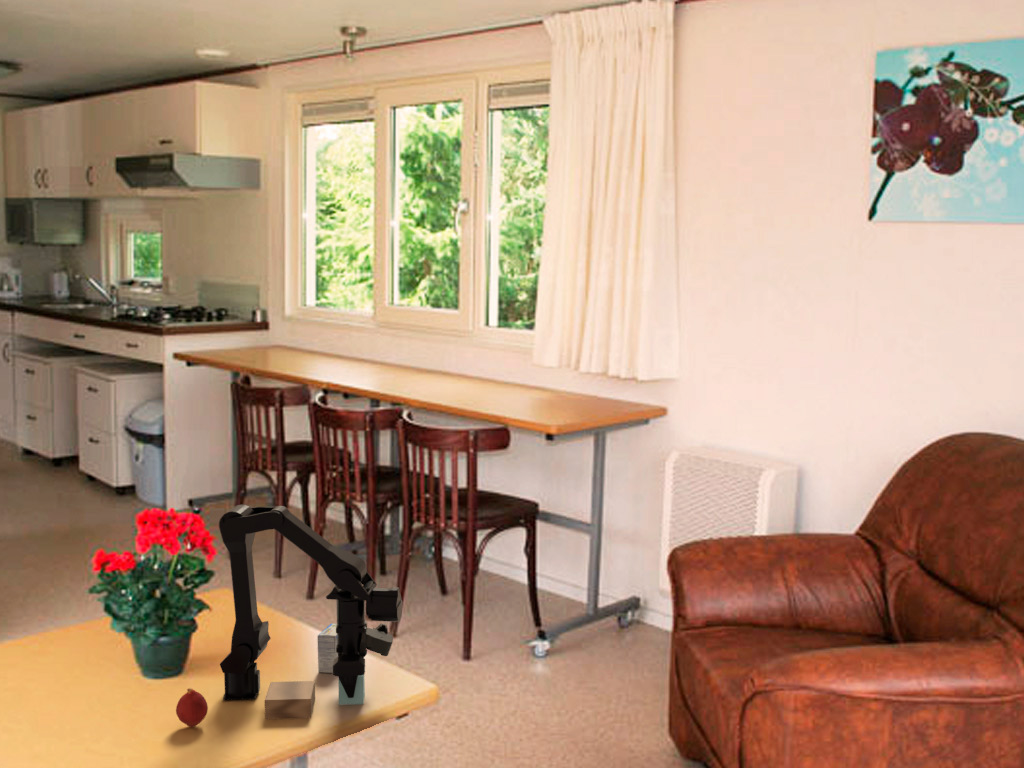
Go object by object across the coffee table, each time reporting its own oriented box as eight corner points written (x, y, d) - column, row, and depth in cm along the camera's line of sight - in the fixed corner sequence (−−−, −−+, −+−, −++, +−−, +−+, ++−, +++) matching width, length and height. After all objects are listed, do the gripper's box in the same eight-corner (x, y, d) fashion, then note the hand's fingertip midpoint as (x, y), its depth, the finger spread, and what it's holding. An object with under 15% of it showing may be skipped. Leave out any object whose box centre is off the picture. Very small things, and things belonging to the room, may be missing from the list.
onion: (196, 718, 221) (195, 679, 220) (214, 726, 218) (213, 686, 216) (171, 727, 217) (169, 688, 216) (188, 736, 213) (187, 696, 212)
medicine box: (337, 674, 244) (336, 636, 242) (317, 672, 244) (317, 634, 243) (349, 661, 251) (348, 623, 250) (330, 659, 252) (330, 622, 251)
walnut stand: (264, 719, 221) (264, 700, 220) (270, 700, 230) (270, 681, 229) (311, 718, 221) (310, 698, 221) (315, 699, 230) (314, 680, 230)
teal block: (338, 704, 228) (338, 676, 227) (340, 694, 233) (340, 667, 232) (363, 704, 228) (363, 676, 227) (364, 694, 233) (364, 666, 232)
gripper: (389, 634, 220) (389, 710, 222) (391, 603, 238) (392, 673, 240) (332, 635, 219) (333, 711, 221) (338, 604, 237) (339, 675, 239)
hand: (351, 692), depth 230 cm, fingers closed on teal block, 5 cm apart
